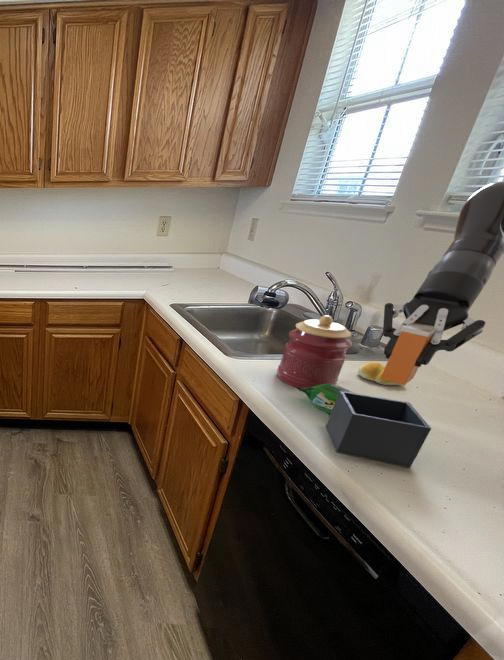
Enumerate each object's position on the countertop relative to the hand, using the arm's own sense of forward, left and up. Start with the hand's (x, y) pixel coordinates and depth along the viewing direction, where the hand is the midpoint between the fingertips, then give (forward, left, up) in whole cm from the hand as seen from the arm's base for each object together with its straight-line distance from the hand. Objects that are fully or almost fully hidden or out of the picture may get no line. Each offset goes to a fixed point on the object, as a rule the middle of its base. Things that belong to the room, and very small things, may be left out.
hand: (402, 359), depth 74 cm
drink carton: (-1, -2, -4) cm, 5 cm away
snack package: (+1, -14, -19) cm, 24 cm away
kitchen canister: (+5, -30, -19) cm, 36 cm away
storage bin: (-1, -1, -19) cm, 19 cm away
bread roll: (-13, -40, -19) cm, 46 cm away
